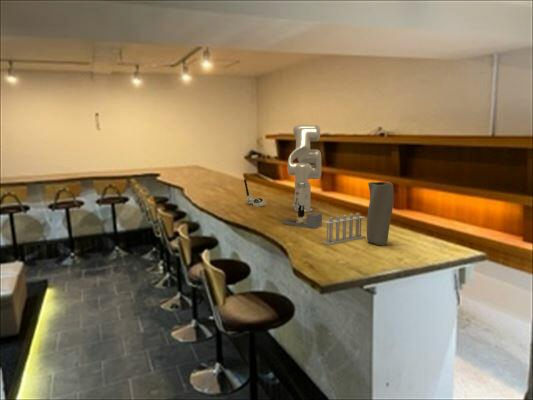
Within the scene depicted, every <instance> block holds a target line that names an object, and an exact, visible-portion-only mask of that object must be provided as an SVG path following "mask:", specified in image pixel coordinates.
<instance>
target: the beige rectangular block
mask: <svg viewBox="0 0 533 400" xmlns="http://www.w3.org/2000/svg"><path fill="white" fill-rule="evenodd" d="M295 221H296V223H300V224H306V216H304V217H299V216H296V217H295Z"/></svg>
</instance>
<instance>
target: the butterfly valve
mask: <svg viewBox="0 0 533 400" xmlns="http://www.w3.org/2000/svg"><path fill="white" fill-rule="evenodd" d="M243 182H244V186H245V187H244V188H245V191H246V199H245V202H246V204H247V205H252V206H253V207H256V208H257V207H263V206H265V205H266V204H267V201H266V200H265V199H264V198H262V197H257V198H254V196H253V195H252V194H250V192H249V188H248V183H247V179H245V178H244V179H243Z"/></svg>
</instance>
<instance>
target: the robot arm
mask: <svg viewBox="0 0 533 400" xmlns="http://www.w3.org/2000/svg"><path fill="white" fill-rule="evenodd" d="M292 132H293V135H294V138H295V149H294V150H292V152H291V153H290V154H289V156H288V159H287V174H288V175H290V176H294V189H295V190H294V197H293V198H294V203H292V204H291V207H293V208H294V211H295V212H297V215H298V216H297V217H305V213H308V212H309V213H310V212H312V211H313V210H314V209H313V208H311V197H312V196H311V195H312V194H311V190H312V189H311V184H310V182H309V180H319V179H320V178H321V176H322V154H321V151H320V150H319V149H317V148H316V149H314V148H312V149H311V142H318V141H319V140H320V138H321V127H320V126H319V125H318V124H301V125H300V124H298V125H295V126H293V128H292ZM296 159H297V161H298V162H294V161H295V160H296Z"/></svg>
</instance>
